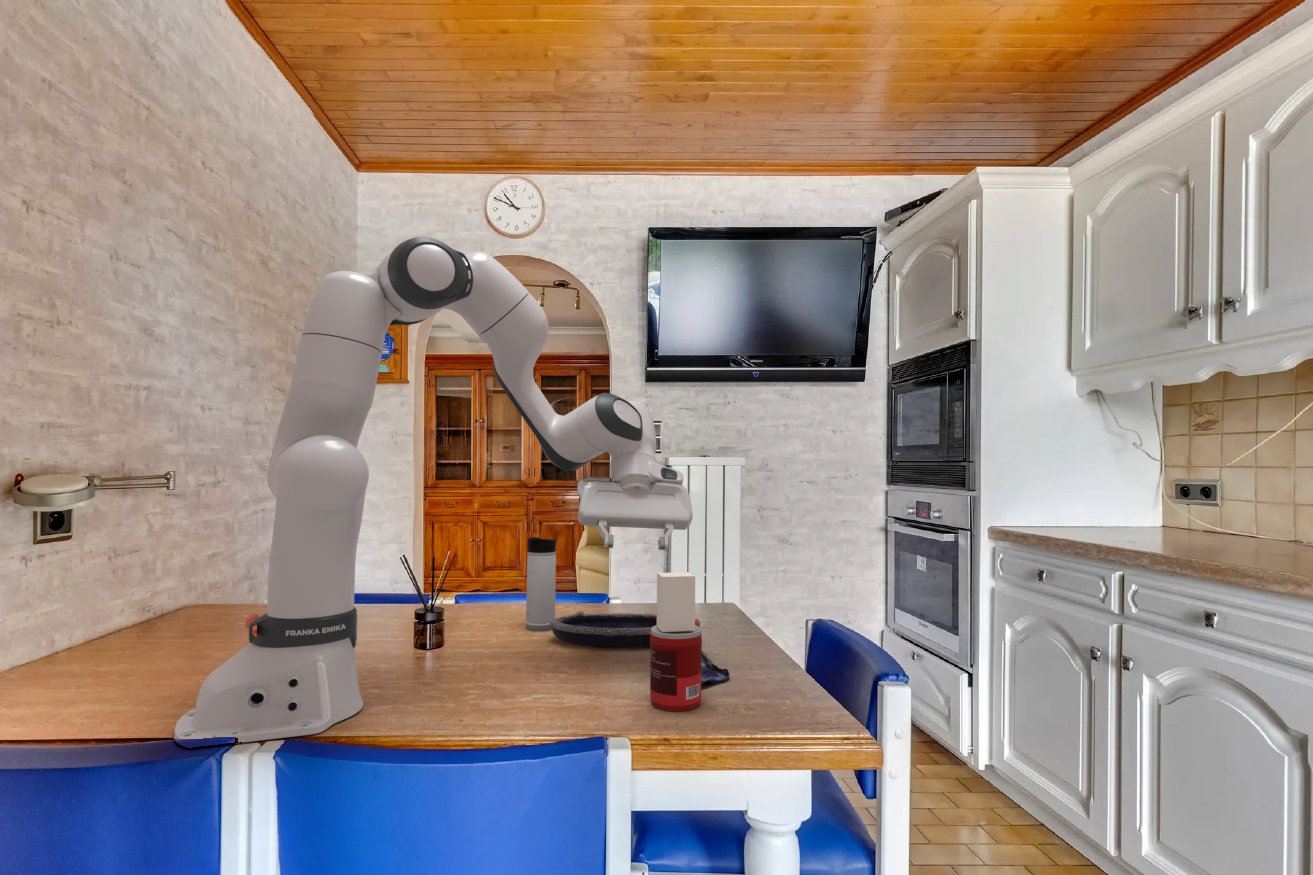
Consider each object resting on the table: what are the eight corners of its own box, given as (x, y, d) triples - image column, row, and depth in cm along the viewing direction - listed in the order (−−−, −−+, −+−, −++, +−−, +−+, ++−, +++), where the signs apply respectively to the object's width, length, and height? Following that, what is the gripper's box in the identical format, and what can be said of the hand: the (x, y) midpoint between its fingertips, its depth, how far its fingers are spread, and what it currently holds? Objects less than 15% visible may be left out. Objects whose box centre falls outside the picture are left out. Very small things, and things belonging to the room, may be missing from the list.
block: (695, 630, 99) (695, 576, 100) (661, 631, 98) (662, 576, 99) (688, 624, 103) (688, 572, 104) (656, 625, 102) (657, 572, 103)
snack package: (708, 667, 120) (646, 671, 116) (711, 633, 119) (649, 635, 116) (737, 700, 109) (670, 706, 105) (742, 662, 108) (674, 666, 104)
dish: (556, 631, 145) (556, 608, 145) (699, 633, 144) (699, 610, 144) (542, 650, 129) (542, 624, 130) (701, 653, 128) (701, 627, 129)
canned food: (702, 695, 104) (702, 623, 104) (700, 713, 96) (700, 635, 96) (653, 693, 105) (653, 621, 105) (647, 711, 97) (647, 633, 97)
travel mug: (519, 630, 145) (521, 537, 146) (535, 623, 151) (536, 534, 152) (545, 632, 143) (546, 538, 144) (559, 626, 149) (561, 535, 150)
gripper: (578, 466, 119) (576, 536, 111) (691, 473, 122) (697, 541, 114) (576, 485, 124) (574, 553, 116) (684, 491, 127) (689, 557, 119)
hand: (636, 547), depth 115 cm, fingers open, 8 cm apart
